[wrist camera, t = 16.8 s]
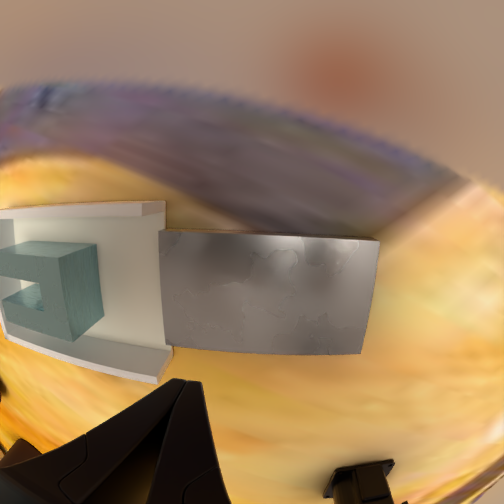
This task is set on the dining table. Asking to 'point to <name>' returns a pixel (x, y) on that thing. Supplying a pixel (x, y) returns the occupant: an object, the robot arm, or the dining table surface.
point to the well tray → (101, 283)
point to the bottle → (19, 453)
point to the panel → (266, 291)
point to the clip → (53, 287)
